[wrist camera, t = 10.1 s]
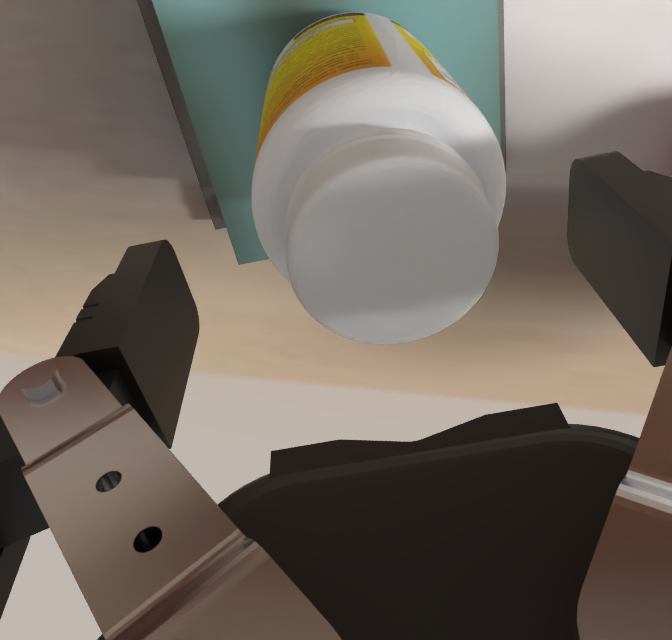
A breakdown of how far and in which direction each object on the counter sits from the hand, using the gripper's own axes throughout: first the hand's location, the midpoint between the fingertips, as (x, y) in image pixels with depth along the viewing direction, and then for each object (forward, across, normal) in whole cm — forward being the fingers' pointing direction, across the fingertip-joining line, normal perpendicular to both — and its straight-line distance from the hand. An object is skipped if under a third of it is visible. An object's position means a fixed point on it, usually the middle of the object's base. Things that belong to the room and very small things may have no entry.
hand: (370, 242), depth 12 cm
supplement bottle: (+9, 0, 0) cm, 9 cm away
